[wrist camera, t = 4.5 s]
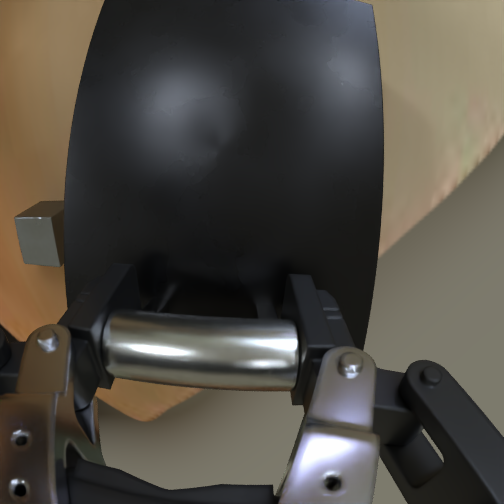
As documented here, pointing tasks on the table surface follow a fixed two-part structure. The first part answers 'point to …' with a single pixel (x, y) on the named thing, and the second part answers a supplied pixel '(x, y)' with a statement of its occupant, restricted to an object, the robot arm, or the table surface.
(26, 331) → the table surface
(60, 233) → the steel block
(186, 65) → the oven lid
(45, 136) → the table surface
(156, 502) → the robot arm
